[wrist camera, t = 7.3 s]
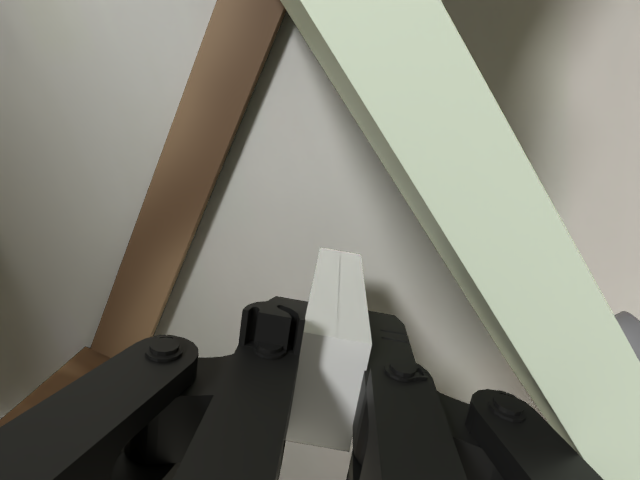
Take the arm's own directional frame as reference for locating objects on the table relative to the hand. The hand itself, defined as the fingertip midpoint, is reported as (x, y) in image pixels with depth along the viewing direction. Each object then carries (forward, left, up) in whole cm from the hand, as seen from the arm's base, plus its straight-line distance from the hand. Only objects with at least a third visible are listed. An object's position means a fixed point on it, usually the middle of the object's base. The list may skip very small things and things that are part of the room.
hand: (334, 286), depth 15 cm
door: (+1, +6, -1) cm, 6 cm away
